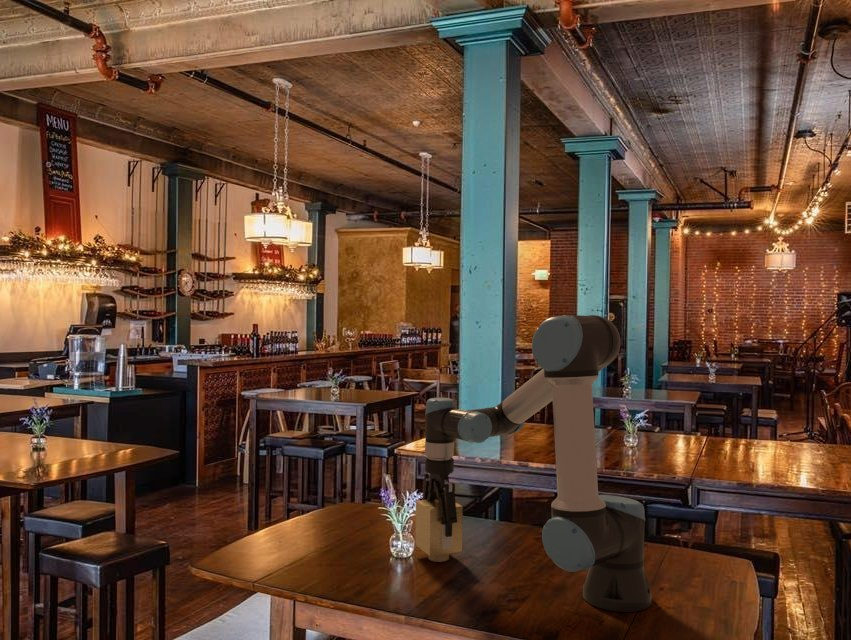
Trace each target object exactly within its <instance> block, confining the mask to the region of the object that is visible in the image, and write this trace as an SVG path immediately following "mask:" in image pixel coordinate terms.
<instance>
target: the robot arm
mask: <svg viewBox="0 0 851 640" xmlns="http://www.w3.org/2000/svg"><path fill="white" fill-rule="evenodd" d="M620 348H621V336H620V333H619V330H618V328H617V326H616V325H615V324H614V323H613V322H612V321H611V320H609V319H607V318H606V317H604V316H600V315H595V314H592V315H591V314H590V315H589V314H588V315H576V314H575V315H574V314H573V315H572V314H570V315H569V314H567V315H566V314H563V315H557V316H551V317H548V318H547V319H545V320H543V321H542V322H541V323H540V325H539V326H538V327H537V328H536V330H535V332H534V334H533V337H532V340H531V353H532V357H533V360H534V361H535V362H536V363H537V365H538V367H540V368H541V370H540V371H538V372H537V373H536V374H534V375H533V377H531V378H530V379H529V380H527V381H526V382H524V384H522V385H521V386H519V388H517V389H516V390H515V391H514V392H512V393H511V394H509V395H508V396H507V397H506V398H505V399H503V401H501V402H500V403H499V404H498V403H497V405H496V406H491V407H485V408H483V407H482V408H476V409H466V410H465V409H460V408H456V405H455V400H454V399H452V398H450V397H431V398H429V399H427V401H426V404H425V414H424V415H425V440H424V455H425V459H424V471H425V472H426V473H424V474H423V475H424V479H423V480H424V484H423V485H424V486H423V492H422V499H421V500H429V501H430V500H435V499H436V498H439V501H440V506H441V508H442V517H443V522H442V523H441V524H442V541H441V549H449V548H452V524H453V523H457V513H456V503H457V502H456V493H455V492H456V484H455V482H452V483H451V482H450V477H449V475H450V474H453V473H454V470H455V463H454V462H455V460H454V458H453V457H454V454H455V453H454V452H455V451H454V449H455V445H456V444H455V439H456V440H461V441H463V442H464V441H465V442H468V443H470V444H473V443H475V444H482V443H484V442H486V440H487V439H489V438H492V437H499V436H508V435H513V434H516V433H518V432H520V431H521V430H522V429H523V427H524V425H525V422H526V421H527V420H528V419H530V418H532V416H533V415H535V414H536V413H538V412H539V411H541V410H542V409H543V408H544V407H546V406H548V404H550V403H551V402H552V413H553V414H552V415H553V432H554V450H555V451H554V452H555V467H556V468H555V470H556V488H557V496H556V498H555V499H554V500H553V501H552V502H551V505H550V506H551V518H549V519H548V520H547V521H546V523H545V524H544V525H543V528H542V531H541V541H542V544H543V548H544V550H545V552H546V554H547V557H548V558H550V559H551V560H552V563H554V564H555V565H556V566H557V567H558V568H560V569H562V570H564V571H566V572H573V573H574V572H580V571H587V570H588V572H587V575H586V577H585V581H584V583H583V585H582V597H583V599H584V601H585V602H587V603H588V604H590V606H591V605H592V606H593V607H595V608H598V609H603V610H606V611H610V612H611V611H612V612H616V613H617V612H621V613H634V612H640V611H644V610H646V609H648V608H650V606H651V605H652V590H651V588H650V584H649V580H648V577H647V574H646V570H645V526H646V525H645V524H646V517H645V515H646V514H645V506H644V505H643V503H641V501H638V500H636V499H632V498H628V497H623V496H619V495H610V494H599V486H598V482H599V481H598V469H597V449H596V432H595V431H596V430H595V416H594V415H595V414H594V400H593V399H594V397H593V384H594V383H595V381H596V380H597V379H598V378H599V372H601V371H602V370H603V369H605V368H607V366H609V365H610V364H611V363H612V362H613V361H615V359H616V358H617V356H618V355H619V352H620Z"/></svg>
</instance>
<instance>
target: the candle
mask: <svg viewBox="0 0 851 640" xmlns="http://www.w3.org/2000/svg"><path fill="white" fill-rule="evenodd" d="M427 557H428V560H429V561H431V562H437V563H439V562H440V563H442V562H443V563H444V562H446V561H448V560H450V553H447V554H440V555H434V556H429V555H428V554H427Z"/></svg>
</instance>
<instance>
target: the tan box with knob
mask: <svg viewBox="0 0 851 640" xmlns="http://www.w3.org/2000/svg"><path fill="white" fill-rule="evenodd" d="M463 509H464V508H463V505H461V504H459V503H458V502H456V513H457V523H453V524H452V548H449V549H441V541H442V524H441V523H442V522H443V517H442V508H441V506H440V501H439V498H436V499H435V500H430V501H429V500H422V499H421V500H415V538H414V539H415V542H414V543H415V544H414V545H415V546H416V547H417V548H419V550H422V552H424V553H425V554H426V555H427V556H428V555H429V556H434V555H440V554H447V553H449V554H453V553H461V552H463V512H464V511H463Z"/></svg>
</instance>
